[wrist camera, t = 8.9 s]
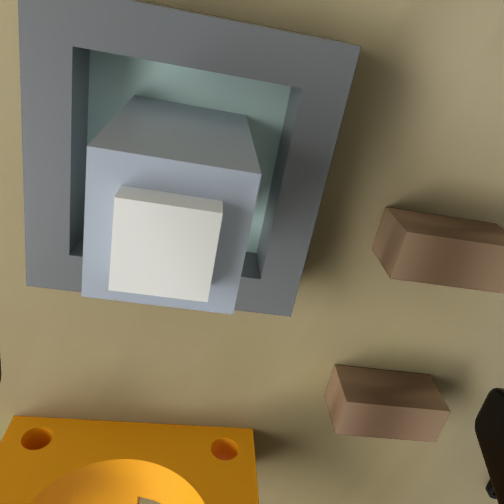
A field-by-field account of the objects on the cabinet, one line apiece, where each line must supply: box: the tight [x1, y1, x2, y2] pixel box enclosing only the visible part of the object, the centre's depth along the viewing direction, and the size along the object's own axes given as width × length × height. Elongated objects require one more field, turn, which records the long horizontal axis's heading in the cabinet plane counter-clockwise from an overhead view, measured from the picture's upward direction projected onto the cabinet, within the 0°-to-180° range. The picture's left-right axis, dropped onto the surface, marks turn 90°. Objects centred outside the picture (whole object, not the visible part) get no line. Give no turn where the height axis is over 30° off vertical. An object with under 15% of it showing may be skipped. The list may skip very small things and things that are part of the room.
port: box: [18, 0, 361, 317], centre depth 17 cm, size 10×10×3 cm
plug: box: [81, 95, 262, 314], centre depth 15 cm, size 4×4×8 cm
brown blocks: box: [325, 207, 504, 442], centre depth 22 cm, size 5×10×2 cm, turn 170°
